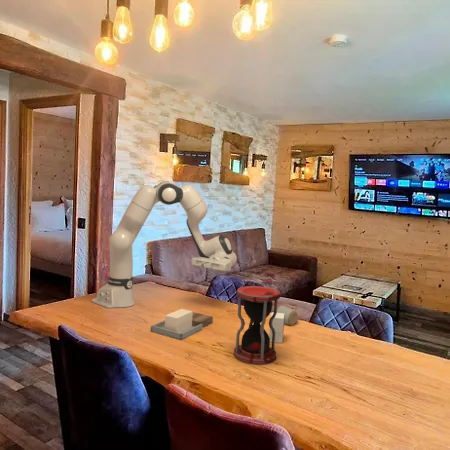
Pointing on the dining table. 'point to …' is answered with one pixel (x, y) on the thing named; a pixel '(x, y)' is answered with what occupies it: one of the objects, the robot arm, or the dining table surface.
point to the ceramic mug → (288, 315)
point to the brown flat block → (201, 319)
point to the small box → (278, 327)
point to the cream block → (179, 320)
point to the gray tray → (161, 329)
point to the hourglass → (256, 325)
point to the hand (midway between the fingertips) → (202, 265)
